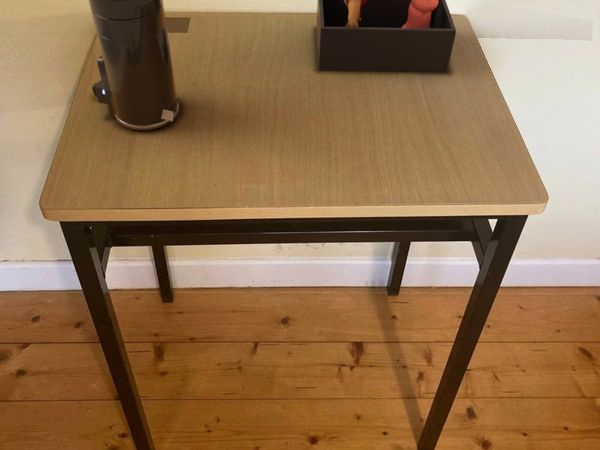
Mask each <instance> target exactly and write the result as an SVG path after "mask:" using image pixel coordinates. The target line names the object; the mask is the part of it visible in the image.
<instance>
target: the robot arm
mask: <svg viewBox="0 0 600 450" xmlns="http://www.w3.org/2000/svg"><path fill="white" fill-rule="evenodd" d="M88 4H89V8H90V10H91V17H92V20H93V24H94V28H95V33H96V37H97V41H98V45H99V50H100V56H98V57H97V59H96V64H97V68H98V72H99V76H100V80H99V81H98V82H95V83H93V85H92V86H91V90H92V93H93V95H94V96H95V97H96V98H97V102H98V103H99V104H104V105H107V110H108V114H109V117H111V118H114V119H115V120H116V121H117V122H118V124H119V125H121V126H123V127H124V128H126V129H129V130H134V131H153V130H157V129H160V128H163V127H165V126H167V125H169V124H170V123H172V122H173V121H174V120H175V119H176V118H177V116H178V115H179V113H180V106H179V100H178V97H177V89H176V82H175V81H176V80H175V74H174V68H173V60H172V54H171V47H170V40H169V32H168V27H167V26H168V25H167V19H166V12H165V6H164V0H88Z"/></svg>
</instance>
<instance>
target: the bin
mask: <svg viewBox="0 0 600 450" xmlns="http://www.w3.org/2000/svg"><path fill="white" fill-rule="evenodd" d="M410 4H411V0H367V1H366V3H365V4H364V5H363V6H362V9H361V12H360V15H361V16H359V17H360V18H361V21H360V20H358V26H359V27H345V25H346V24H347V23H349V21H348V15H349V9H348V7H347V6H346V4H345V2H344V0H317V5H316V6H317V7H316V50H317V69H318V71H338V72H340V71H341V72H343V71H344V72H347V71H348V72H399V73H401V72H403V73H405V72H407V73H408V72H409V73H410V72H411V73H448V70H449V65H450V60H451V56H452V53H453V47H454V43H455V39H456V34H457V29H456V26H455V23H454V20H453V17H452V14H451V11H450V9H449V6H448V3H447V0H438V5H437V7H436V8H435V9H434V10H433V11H431V21H430V28H431V29H429V28H402V26H403V25H404V24H406V23H407V20H408V11H409V6H410Z"/></svg>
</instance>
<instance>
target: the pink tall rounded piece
mask: <svg viewBox="0 0 600 450" xmlns="http://www.w3.org/2000/svg"><path fill="white" fill-rule="evenodd" d="M437 5H438V0H411V4H410V6H409V11H408V20H407V23H406V24H404V25H403V26H402V28H429V29H431V28H430V21H431V11H433V10H434V9H435V8H436V7H437Z"/></svg>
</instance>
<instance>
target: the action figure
mask: <svg viewBox="0 0 600 450" xmlns="http://www.w3.org/2000/svg"><path fill="white" fill-rule="evenodd" d="M366 1H367V0H344V2H345V4H346V6H347V7H348V9H349V15H348V21H349V23H347V24H346V25H345V27H359V26H358V20H360V21H361V18H360V17H359V16H361V15H360V12H361V9H362V6H363V5H364V4H365V3H366Z"/></svg>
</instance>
